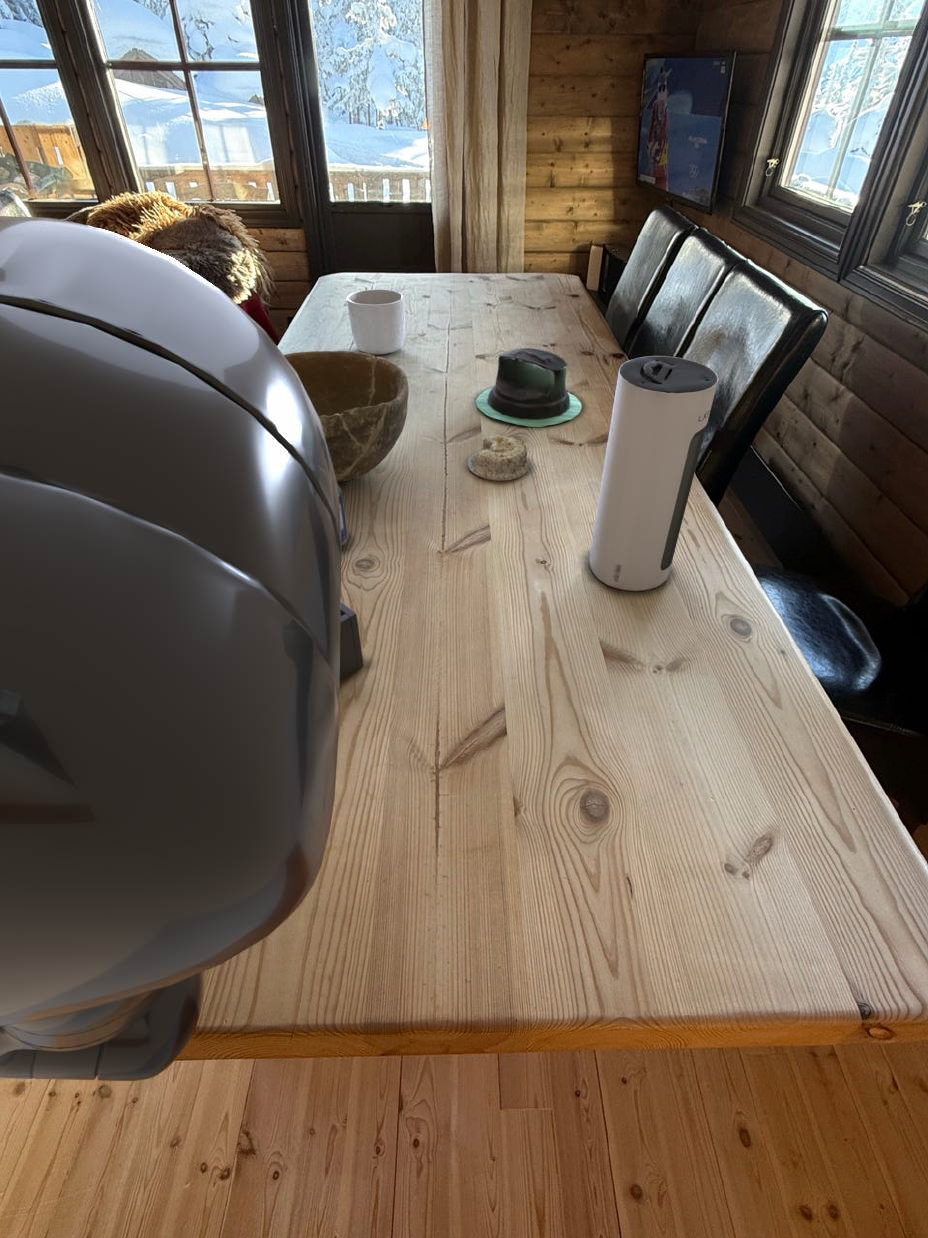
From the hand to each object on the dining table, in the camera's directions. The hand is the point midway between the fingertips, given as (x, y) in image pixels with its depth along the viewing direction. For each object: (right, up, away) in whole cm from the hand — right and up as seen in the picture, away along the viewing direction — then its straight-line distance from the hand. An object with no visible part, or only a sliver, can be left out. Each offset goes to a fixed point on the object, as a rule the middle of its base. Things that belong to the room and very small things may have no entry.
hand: (221, 590), depth 57 cm
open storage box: (0, -8, +15) cm, 17 cm away
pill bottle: (+2, +8, +33) cm, 34 cm away
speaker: (+43, +4, +28) cm, 51 cm away
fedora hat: (+34, +38, +68) cm, 85 cm away
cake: (+27, +22, +50) cm, 60 cm away
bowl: (-1, +21, +48) cm, 52 cm away
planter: (+2, +59, +91) cm, 109 cm away
